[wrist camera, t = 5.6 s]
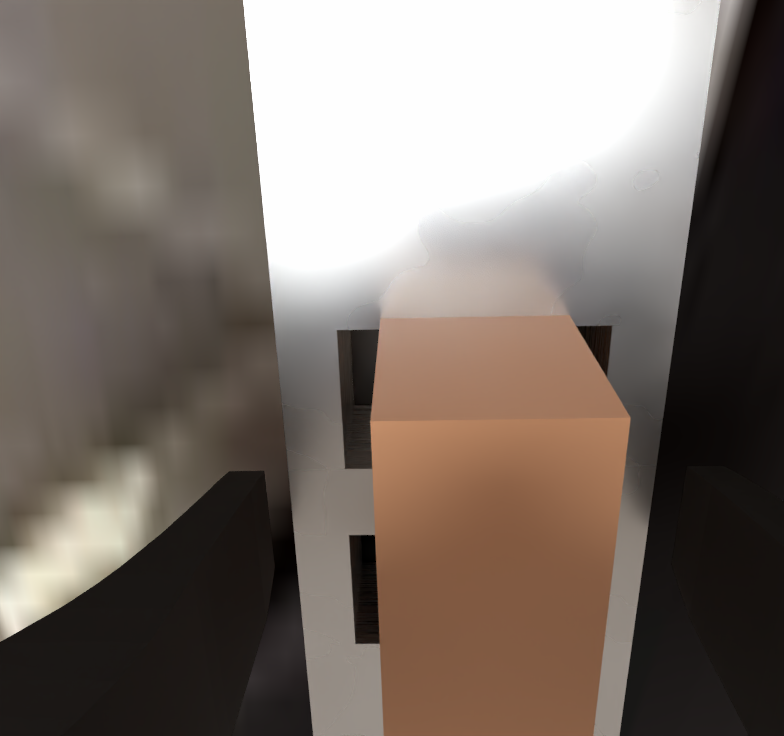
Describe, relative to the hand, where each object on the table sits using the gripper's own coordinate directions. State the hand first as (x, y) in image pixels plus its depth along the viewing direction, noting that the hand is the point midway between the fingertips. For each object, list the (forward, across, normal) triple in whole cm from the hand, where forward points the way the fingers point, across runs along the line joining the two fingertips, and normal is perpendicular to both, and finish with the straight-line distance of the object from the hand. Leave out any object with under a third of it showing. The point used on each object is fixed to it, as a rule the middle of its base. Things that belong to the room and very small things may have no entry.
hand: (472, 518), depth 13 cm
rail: (+3, 0, 0) cm, 3 cm away
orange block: (+3, 0, 0) cm, 3 cm away
